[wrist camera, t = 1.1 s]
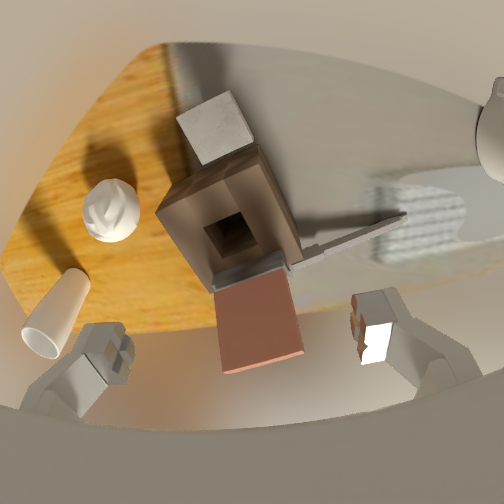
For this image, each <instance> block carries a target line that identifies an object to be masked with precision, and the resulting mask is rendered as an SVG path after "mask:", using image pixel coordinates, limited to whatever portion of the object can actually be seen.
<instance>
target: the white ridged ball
mask: <svg viewBox="0 0 504 504" xmlns="http://www.w3.org/2000/svg"><path fill="white" fill-rule="evenodd" d="M139 216H140V202H139V199H138V196H137V194H136V191H135V189H134V188H133V187H132V186H131V185H129V184H128V183H126V182H124V181H122V180H120V179H116V178H113V179H105V180H103V181H101V182H100V183H98V184H97V185H96V186H95V187H94V188H93V189H92V190H91V191H90V192H89V193H88V194H87V195H86V198H85V201H84V205H83V219H84V222H85V225H86V228H87V230H88V232H89V233H90V234H91V235H92V236H93V237H94V238H96V239H97V240H100V241H103V242H117V241H120V240H123V239H124V238H126V237H127V236H129V235H130V234H131V233H132V232H133V231H134V230H135V228H136V227H137V225H138V222H139Z"/></svg>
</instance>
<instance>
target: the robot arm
mask: <svg viewBox="0 0 504 504" xmlns="http://www.w3.org/2000/svg"><path fill="white" fill-rule="evenodd" d="M476 141H477V152H478V156H479V160H480V162H481V165H482V167H483V169H484V170H485V171H486V173H487V174H488V175H489V176H490V177H491V178H493V179H495V180H497V181H499V182H501V183H503V185H504V77H497V78H496V79H495V81H494V84H493V89H492V95H491V97H490V99H489V100H488V102H487V104H486V105H485V107H484V109H483V111H482V113H481V116H480V119H479V122H478V127H477V138H476ZM351 305H352V307H353V311H352V312H351V320H350V321H351V330H352V334H353V338H354V340H355V341H357V342H358V346H357V351H358V354H359V357H360V360H361V363H362V364H366V363H371V362H377V361H383V360H385V361H386V362H387V363H388V364H389V365H390V366H392V367H393V368H394V369H395V370H396V371H397V372H398V373H400V374H401V375H402V376H403V377H404V378H405V379H406V380H408V381H409V382H410V383H411V384H412V385H413V386H415V387H416V388H417V389H418V391H417V393H416V395H415V397H414V399H413V400H411V401H407V402H403V403H399V404H395V405H392V406H387V407H383V408H379V409H375V410H371V411H366V412H361V413H356V414H351V415H346V416H341V417H336V418H329V419H323V420H317V421H310V422H304V423H295V424H287V425H278V426H269V427H256V428H242V429H223V430H165V429H144V428H130V427H118V426H108V425H100V424H92V423H85V422H84V421H83V420H82V419H81V417H82V416H83V415H84V414H85V412H86V411H87V410H88V409H89V408H90V407H91V405H92V404H93V403H94V402H95V401H96V399H97V398H98V397H99V396H100V394H101V393H102V392H103V391H104V390H105V389H106V388H107V386H108V385H126V384H127V381H128V378H129V374H130V369H129V367H128V366H129V365H130V364H131V363H132V362H133V360H134V357H135V347H134V343H133V341H132V339H131V338H130V337H129V336H127V335H126V334H125V331H126V329H125V327H124V325H123V324H122V323H120V322H101V323H87V324H85V325H84V326H83V328H82V331H81V333H80V335H79V337H78V339H77V341H76V343H75V345H74V347H73V349H72V351H71V353H70V354H67V355H65V356H64V357H63V358H62V359H61V360H59V361H58V362H57V363H56V364H55V365H53V366H52V367H51V368H50V369H49V370H48V371H46V372H45V373H44V374H43V375H42V376H41V377H39V378H38V379H37V380H36V381H35V382H34V383H32V384H31V385H30V386H29V388H28V390H27V392H26V394H25V396H24V399H23V401H22V403H21V406H20V408H19V410H17V409H13V408H9V407H6V406H2V405H0V504H504V368H501V369H499V370H497V371H494V372H492V373H489V374H487V375H484V376H483V375H482V373H481V371H480V369H479V367H478V365H477V363H476V361H475V359H474V358H473V356H472V354H471V352H470V350H469V349H468V348H467V347H465V346H463V345H462V344H460V343H458V342H457V341H455V340H453V339H452V338H450V337H448V336H447V335H445V334H443V333H441V332H440V331H438V330H436V329H435V328H433V327H431V326H430V325H427V324H426V323H424V322H423V321H421V320H419V319H418V318H414V319H413V318H412V316H411V315H410V313H409V311H408V309H407V307H406V305H405V303H404V302H403V300H402V298H401V296H400V294H399V292H398V291H397V289H396V288H395V287H390V288H385V289H381V290H376V291H370V292H365V293H359V294H353V295H352V299H351Z"/></svg>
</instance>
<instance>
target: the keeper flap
mask: <svg viewBox="0 0 504 504" xmlns="http://www.w3.org/2000/svg"><path fill="white" fill-rule="evenodd" d="M214 300H215V310H216V319H217V328H218V337H219V346H220V353H221V362H222V371H223V372H224V373H226V374H230V373H234V372H238V371H242V370H246V369H250V368H254V367H258V366H261V365H265V364H268V363H272V362H276V361H279V360H283V359H286V358H290V357H293V356H297V355H300V354H303V353H305V351H304V347H303V343H302V338H301V334H300V330H299V325H298V321H297V317H296V313H295V309H294V304H293V300H292V296H291V292H290V288H289V284H288V280H287V276H286V272H285V271H284V269H283V268H280V269H277V270H275V271H272V272H269V273H266V274H264V275H261V276H258V277H256V278H253V279H250V280H247V281H245V282H242V283H239V284H236V285H234V286H231V287H228V288H225V289H223V290H220V291H217V292H214Z"/></svg>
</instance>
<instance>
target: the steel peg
mask: <svg viewBox="0 0 504 504" xmlns="http://www.w3.org/2000/svg"><path fill="white" fill-rule="evenodd" d="M176 119H177V121H178V123H179V124H180V126H181V128H182V130H183V131H184V133H185V135H186V137H187V139H188V140H189V142H190V144H191V146H192V147H193V149H194V151H195V153H196V155H197V156H198V158H199V160H200V162H201V163H202V165H204V164H206V163H209V162H211V161H213V160H215V159H217V158H219V157H221V156H223V155H225V154H227V153H230V152H232V151H234V150H236V149H238V148H240V147H243V146H245V145H247V144H249V143H252V142H254V137H253V135H252V133H251V131H250V129H249V127H248V125H247V123H246V121H245V119H244V117H243V115H242V113H241V111H240V109H239V107H238V105H237V103H236V101H235V99H234V97H233V95H232V93H231V91H230V90H228V91H225V92H223V93H221V94H219V95H217V96H215V97H213V98H211V99H209V100H207V101H205V102H203V103H201V104H199V105H197V106H195V107H194V108H192V109H190V110H188V111H186V112H184V113H182V114H181V115H179V116H178V117H176Z"/></svg>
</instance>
